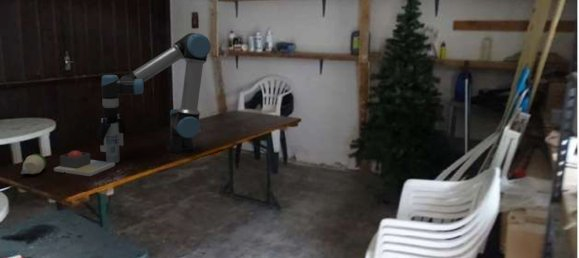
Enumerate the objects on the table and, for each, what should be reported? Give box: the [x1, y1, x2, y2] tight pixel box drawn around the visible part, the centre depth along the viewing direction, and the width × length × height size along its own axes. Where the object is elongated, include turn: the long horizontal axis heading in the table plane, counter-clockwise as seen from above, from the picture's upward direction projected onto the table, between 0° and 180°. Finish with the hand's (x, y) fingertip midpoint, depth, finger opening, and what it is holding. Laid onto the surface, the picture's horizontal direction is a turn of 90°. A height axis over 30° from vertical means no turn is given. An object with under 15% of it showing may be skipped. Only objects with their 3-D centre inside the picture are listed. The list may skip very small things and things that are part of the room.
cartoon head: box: [20, 153, 47, 175], centre depth 225 cm, size 9×10×20 cm
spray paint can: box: [104, 122, 121, 164], centre depth 245 cm, size 6×6×20 cm
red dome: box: [67, 150, 83, 158], centre depth 234 cm, size 7×7×7 cm
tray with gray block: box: [53, 151, 116, 177], centre depth 234 cm, size 20×18×6 cm
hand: (112, 148), depth 246 cm, fingers open, 13 cm apart
